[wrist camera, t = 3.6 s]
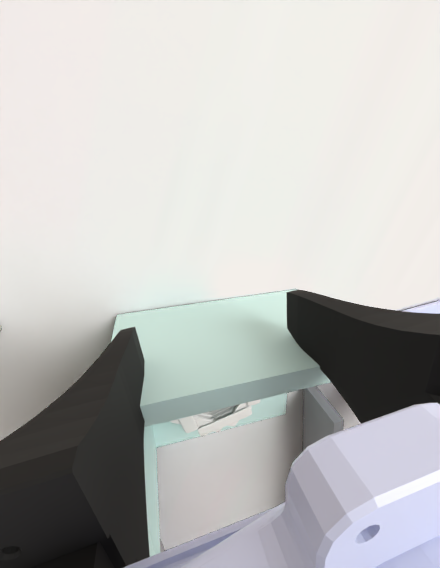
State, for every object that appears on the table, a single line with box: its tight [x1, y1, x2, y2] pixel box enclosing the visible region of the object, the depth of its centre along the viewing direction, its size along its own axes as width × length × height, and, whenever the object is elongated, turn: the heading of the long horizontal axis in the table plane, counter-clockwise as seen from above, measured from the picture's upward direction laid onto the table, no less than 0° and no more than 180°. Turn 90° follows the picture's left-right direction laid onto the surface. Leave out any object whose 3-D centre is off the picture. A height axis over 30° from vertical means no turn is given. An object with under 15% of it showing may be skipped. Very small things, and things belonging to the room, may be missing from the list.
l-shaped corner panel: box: [111, 289, 331, 557], centre depth 16 cm, size 12×12×8 cm
